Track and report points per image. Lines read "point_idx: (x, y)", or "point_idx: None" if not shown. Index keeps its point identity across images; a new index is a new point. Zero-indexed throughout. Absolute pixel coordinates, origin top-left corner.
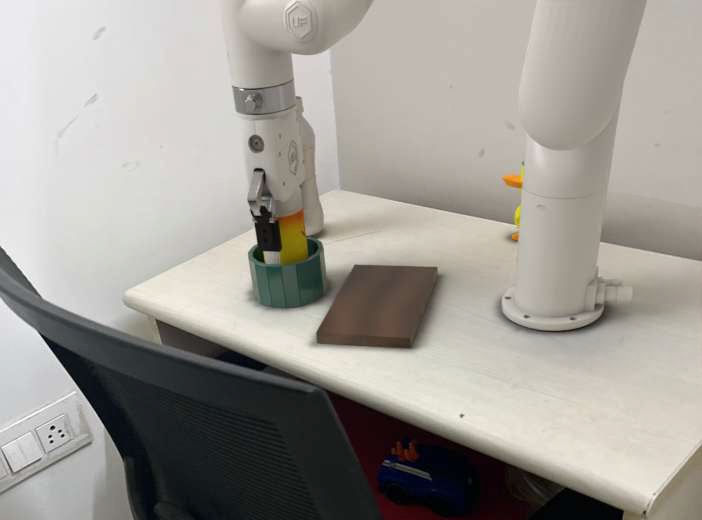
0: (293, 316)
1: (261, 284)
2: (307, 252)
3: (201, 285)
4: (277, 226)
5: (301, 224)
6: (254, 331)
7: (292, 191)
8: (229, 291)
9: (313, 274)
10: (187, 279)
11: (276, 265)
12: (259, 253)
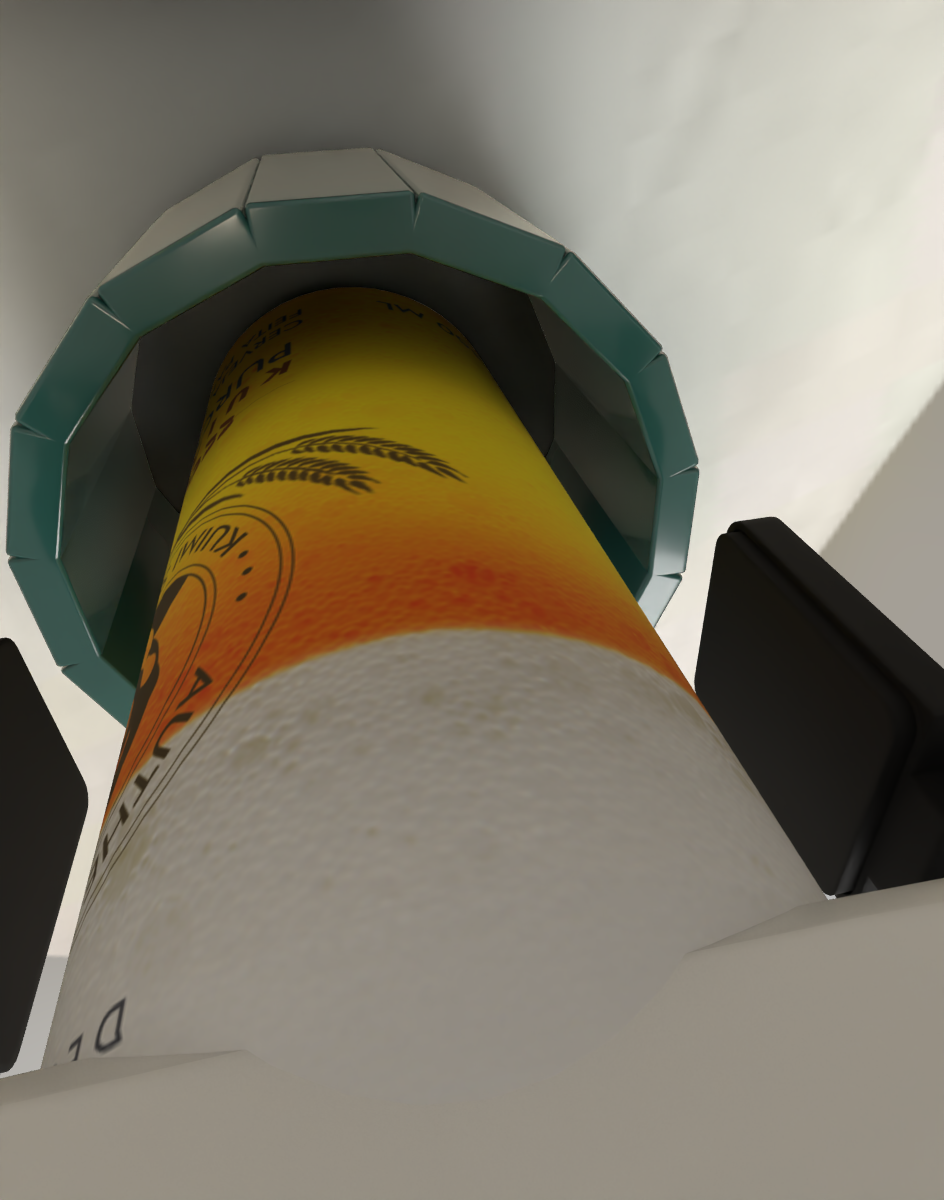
0: (684, 260)
1: None
2: (322, 372)
3: None
4: (934, 670)
5: (444, 512)
6: (836, 415)
7: (807, 991)
8: None
9: (503, 210)
10: None
11: (679, 507)
12: None
